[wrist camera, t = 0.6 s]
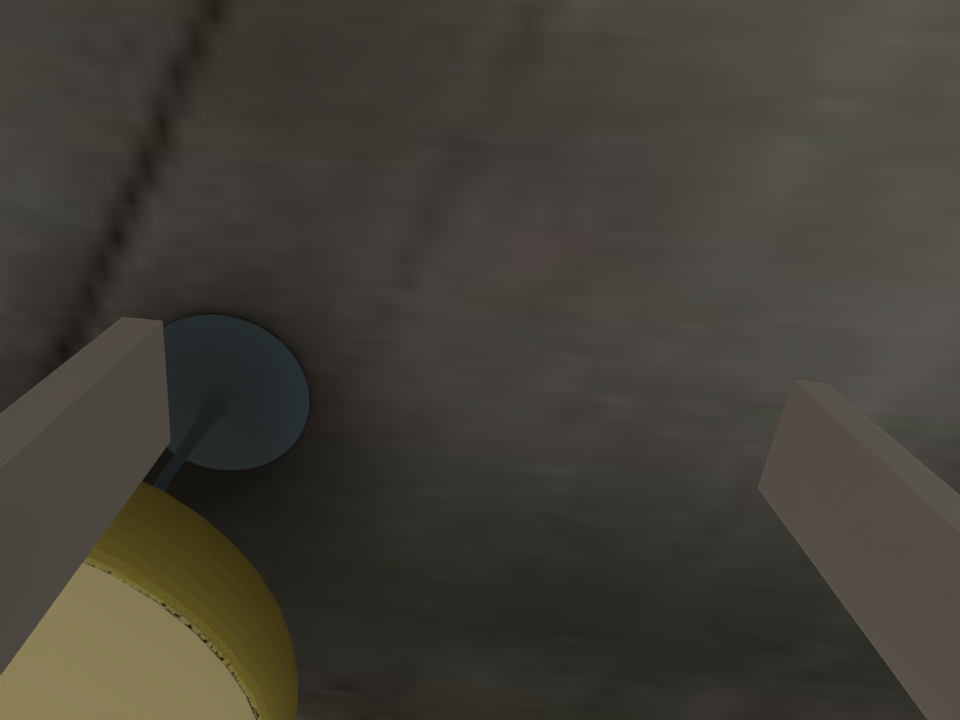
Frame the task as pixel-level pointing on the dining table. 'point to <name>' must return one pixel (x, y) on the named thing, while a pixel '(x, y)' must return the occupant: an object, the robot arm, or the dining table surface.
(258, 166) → the dining table surface
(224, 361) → the cocktail glass
